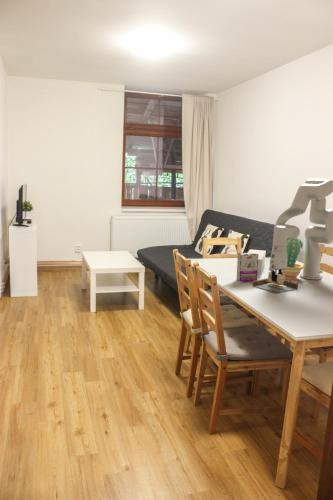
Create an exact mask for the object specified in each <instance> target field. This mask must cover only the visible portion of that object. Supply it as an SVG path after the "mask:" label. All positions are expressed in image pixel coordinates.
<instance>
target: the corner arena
mask: <svg viewBox="0 0 333 500" xmlns="http://www.w3.org/2000/svg"><path fill="white" fill-rule="evenodd" d="M251 283H252V285H251V286H252V287H254V288H257V289H261V290H263V291H266V292H270V293H273V294H277V293H278V294H282V293H286V292H290V291H295V290H298V289H299V283H298V282H294V281H291V280H290V281H289V280H287V279H284V284H283V285H277V284H274V283H272V282H269V281H268V277H267V278H261V279H257V280H255V281H253V282H251Z"/></svg>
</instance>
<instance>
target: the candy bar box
mask: <svg viewBox="0 0 333 500" xmlns="http://www.w3.org/2000/svg"><path fill="white" fill-rule="evenodd" d="M236 263H237V265H236V282H239V283H250V282H251V283H253V281H255V280H258V276H257V270H258V254H257V253H248V252H238V253H237V262H236Z"/></svg>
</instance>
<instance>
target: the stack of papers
mask: <svg viewBox="0 0 333 500" xmlns="http://www.w3.org/2000/svg"><path fill="white" fill-rule="evenodd" d="M266 252H267V251H266V250H261V249H259V250H258V249H249V250H248V251H247V253H257V254H258V270H257V277H262V275H263V273H264V272H263V271H264V268H265V265H266V264H265V263H266Z"/></svg>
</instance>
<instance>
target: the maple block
mask: <svg viewBox="0 0 333 500" xmlns="http://www.w3.org/2000/svg"><path fill="white" fill-rule="evenodd" d="M278 273H279V272H277V274H276V275H277V281H276V282H274V281H272V280H271V279H272V274H271V271H268V275H267V278H268V281H269V282H272V283H274V284H277V285H283V284H284V280H285V279H284V278H285V276H284V275H281V274H278Z"/></svg>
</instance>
